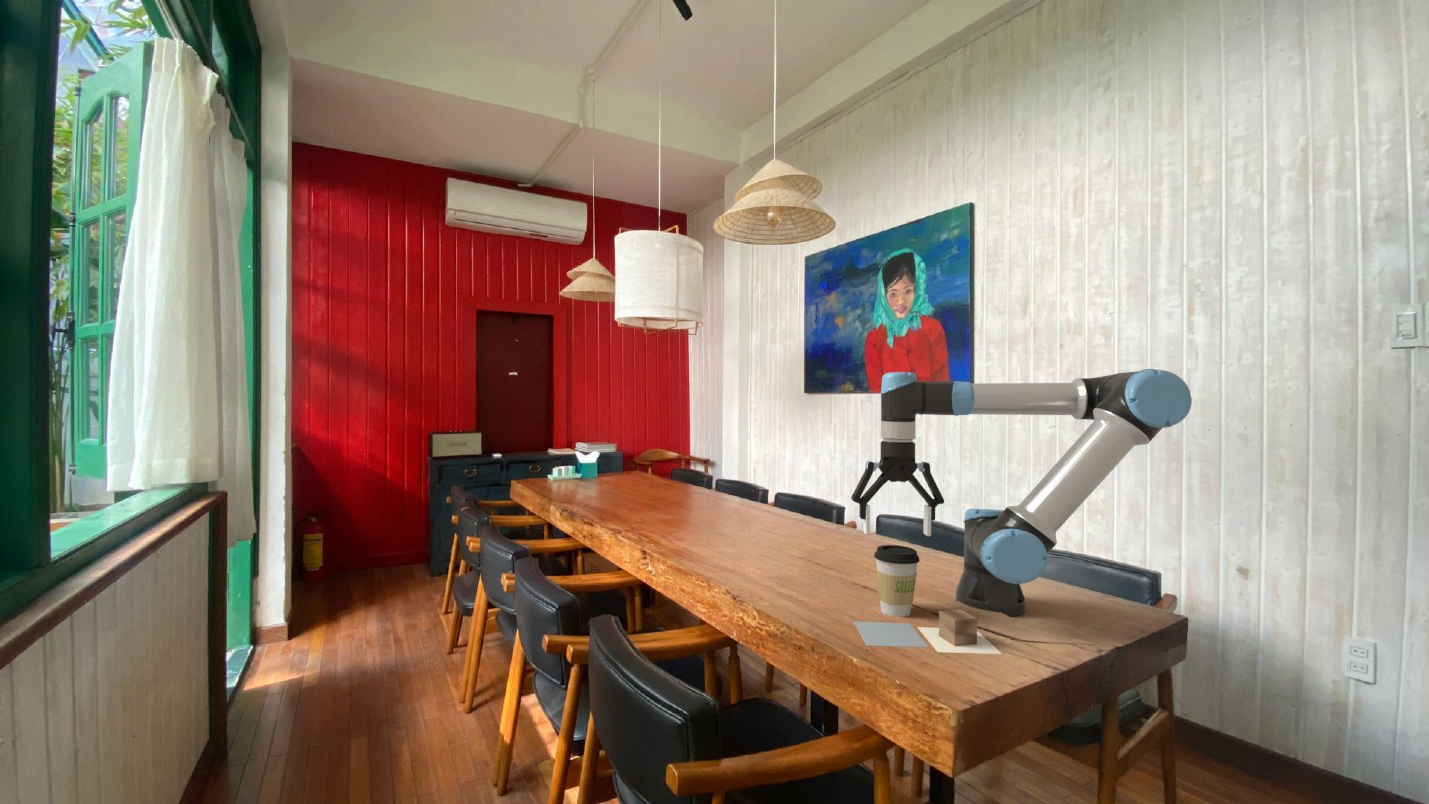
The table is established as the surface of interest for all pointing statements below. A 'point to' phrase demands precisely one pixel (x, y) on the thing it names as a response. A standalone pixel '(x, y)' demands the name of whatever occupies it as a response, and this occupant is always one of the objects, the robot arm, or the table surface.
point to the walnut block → (958, 627)
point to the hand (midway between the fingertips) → (896, 534)
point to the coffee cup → (896, 578)
